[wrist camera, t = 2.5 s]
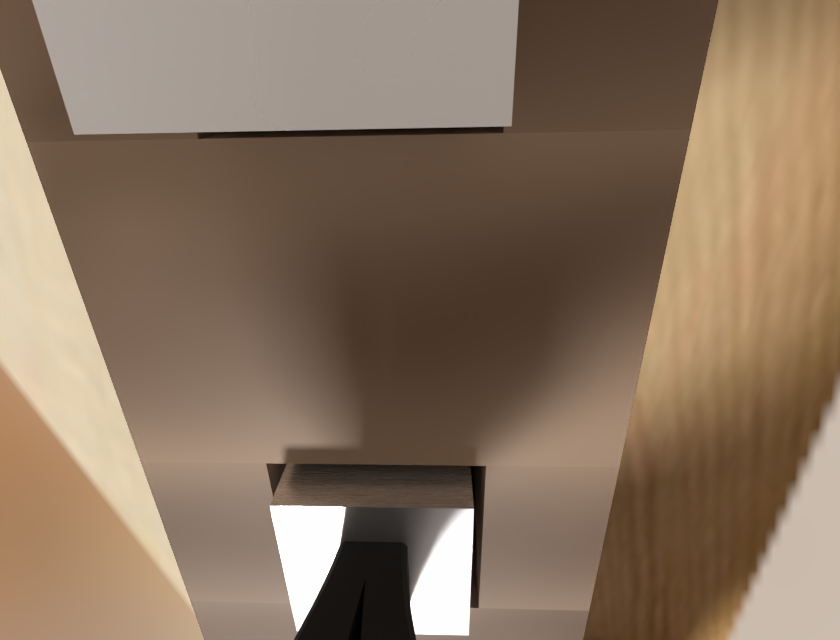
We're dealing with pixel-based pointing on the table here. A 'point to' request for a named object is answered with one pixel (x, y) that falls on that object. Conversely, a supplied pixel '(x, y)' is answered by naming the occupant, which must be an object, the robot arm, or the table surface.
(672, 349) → the table surface
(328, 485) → the pin
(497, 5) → the pin
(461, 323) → the block
